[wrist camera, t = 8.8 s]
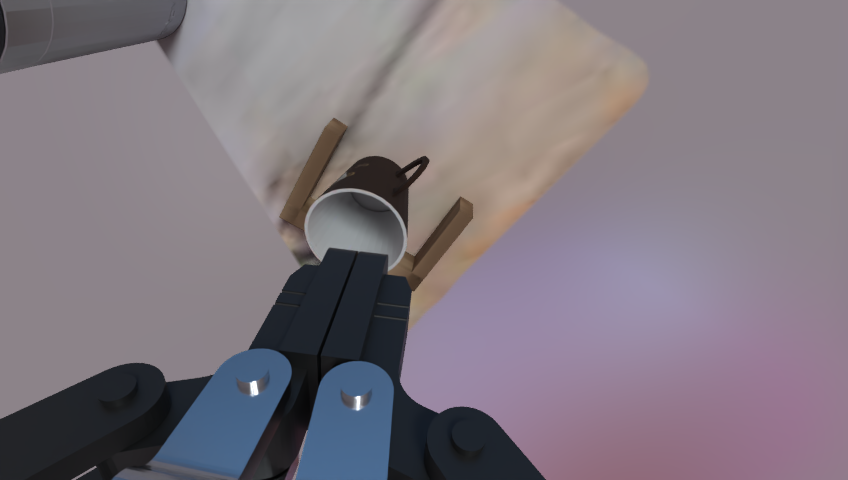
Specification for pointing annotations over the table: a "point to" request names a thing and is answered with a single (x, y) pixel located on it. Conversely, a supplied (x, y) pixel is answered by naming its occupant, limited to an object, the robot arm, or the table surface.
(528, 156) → the table surface
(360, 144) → the table surface
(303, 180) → the walnut corral
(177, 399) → the robot arm
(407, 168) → the coffee mug
